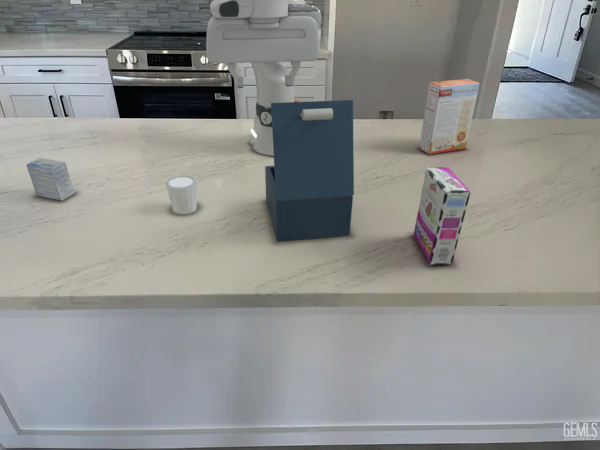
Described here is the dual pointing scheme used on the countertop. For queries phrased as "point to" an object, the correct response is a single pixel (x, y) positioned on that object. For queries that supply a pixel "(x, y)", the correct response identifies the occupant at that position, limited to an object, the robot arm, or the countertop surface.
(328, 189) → the lid
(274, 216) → the dark blue open box
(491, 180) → the countertop surface
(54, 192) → the medicine box
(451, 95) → the cracker box
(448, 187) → the candy bar box
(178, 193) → the shot glass
